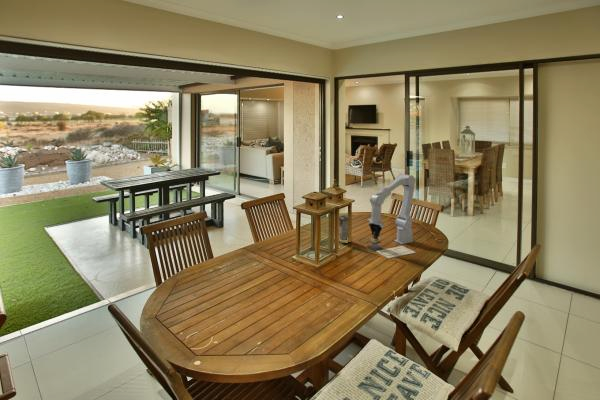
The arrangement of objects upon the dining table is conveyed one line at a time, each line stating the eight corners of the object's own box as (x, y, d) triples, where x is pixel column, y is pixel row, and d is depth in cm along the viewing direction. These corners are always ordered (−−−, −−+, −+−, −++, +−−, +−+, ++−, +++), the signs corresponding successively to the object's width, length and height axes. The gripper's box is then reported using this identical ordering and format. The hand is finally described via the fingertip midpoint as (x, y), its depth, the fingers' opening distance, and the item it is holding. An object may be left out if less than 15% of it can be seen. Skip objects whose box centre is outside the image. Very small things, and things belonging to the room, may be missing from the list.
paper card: (402, 246, 226) (402, 245, 225) (415, 252, 215) (415, 252, 215) (375, 251, 218) (375, 250, 218) (388, 258, 207) (388, 257, 207)
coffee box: (335, 239, 240) (336, 216, 236) (344, 238, 242) (345, 215, 238) (341, 244, 232) (341, 220, 228) (350, 242, 233) (350, 219, 230)
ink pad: (376, 245, 228) (376, 243, 227) (383, 249, 222) (383, 247, 221) (367, 247, 225) (367, 245, 225) (373, 251, 219) (373, 248, 218)
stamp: (376, 240, 225) (376, 229, 224) (380, 242, 222) (380, 231, 220) (370, 242, 223) (370, 231, 221) (374, 244, 220) (374, 233, 218)
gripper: (363, 212, 223) (363, 233, 226) (378, 218, 210) (377, 240, 213) (373, 211, 226) (372, 231, 229) (387, 216, 213) (386, 238, 216)
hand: (375, 235), depth 221 cm, fingers closed on stamp, 3 cm apart
